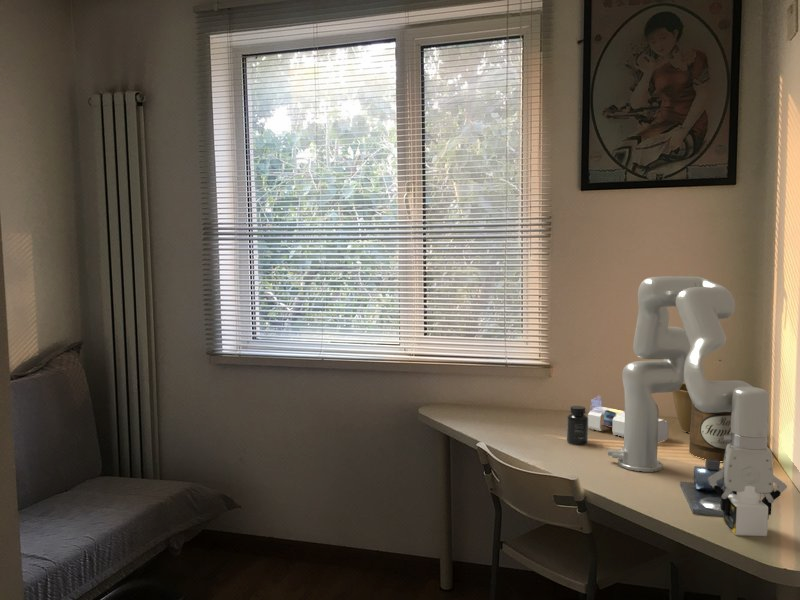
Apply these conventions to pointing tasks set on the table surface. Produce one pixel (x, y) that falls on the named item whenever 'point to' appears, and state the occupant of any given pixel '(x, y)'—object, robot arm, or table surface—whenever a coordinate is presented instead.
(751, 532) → the medicine bottle
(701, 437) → the wooden container
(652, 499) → the table surface
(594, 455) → the table surface
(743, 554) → the table surface
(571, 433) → the supplement bottle
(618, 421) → the diorama
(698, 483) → the motor base
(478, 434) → the table surface
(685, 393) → the plant pot
